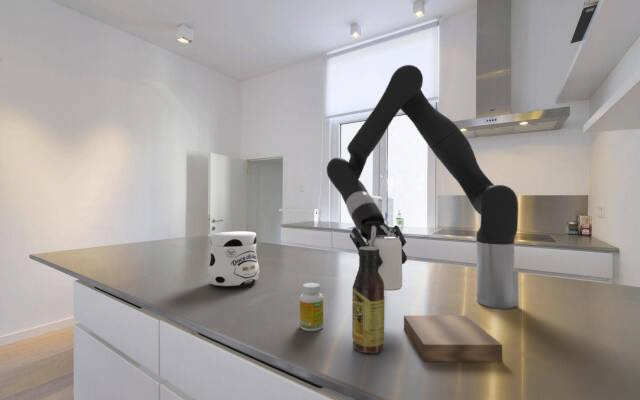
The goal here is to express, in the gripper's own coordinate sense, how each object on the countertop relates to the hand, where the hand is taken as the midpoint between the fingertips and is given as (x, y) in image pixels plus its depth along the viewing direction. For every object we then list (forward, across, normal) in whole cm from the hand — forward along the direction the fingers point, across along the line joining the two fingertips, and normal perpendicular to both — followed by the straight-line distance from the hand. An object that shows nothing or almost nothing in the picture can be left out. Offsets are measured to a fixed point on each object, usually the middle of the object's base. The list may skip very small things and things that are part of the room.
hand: (392, 263), depth 70 cm
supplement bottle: (+5, -18, +15) cm, 24 cm away
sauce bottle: (+15, -11, +6) cm, 20 cm away
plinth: (+19, +4, +2) cm, 19 cm away
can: (+3, 0, +6) cm, 6 cm away
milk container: (-27, -29, +47) cm, 61 cm away
